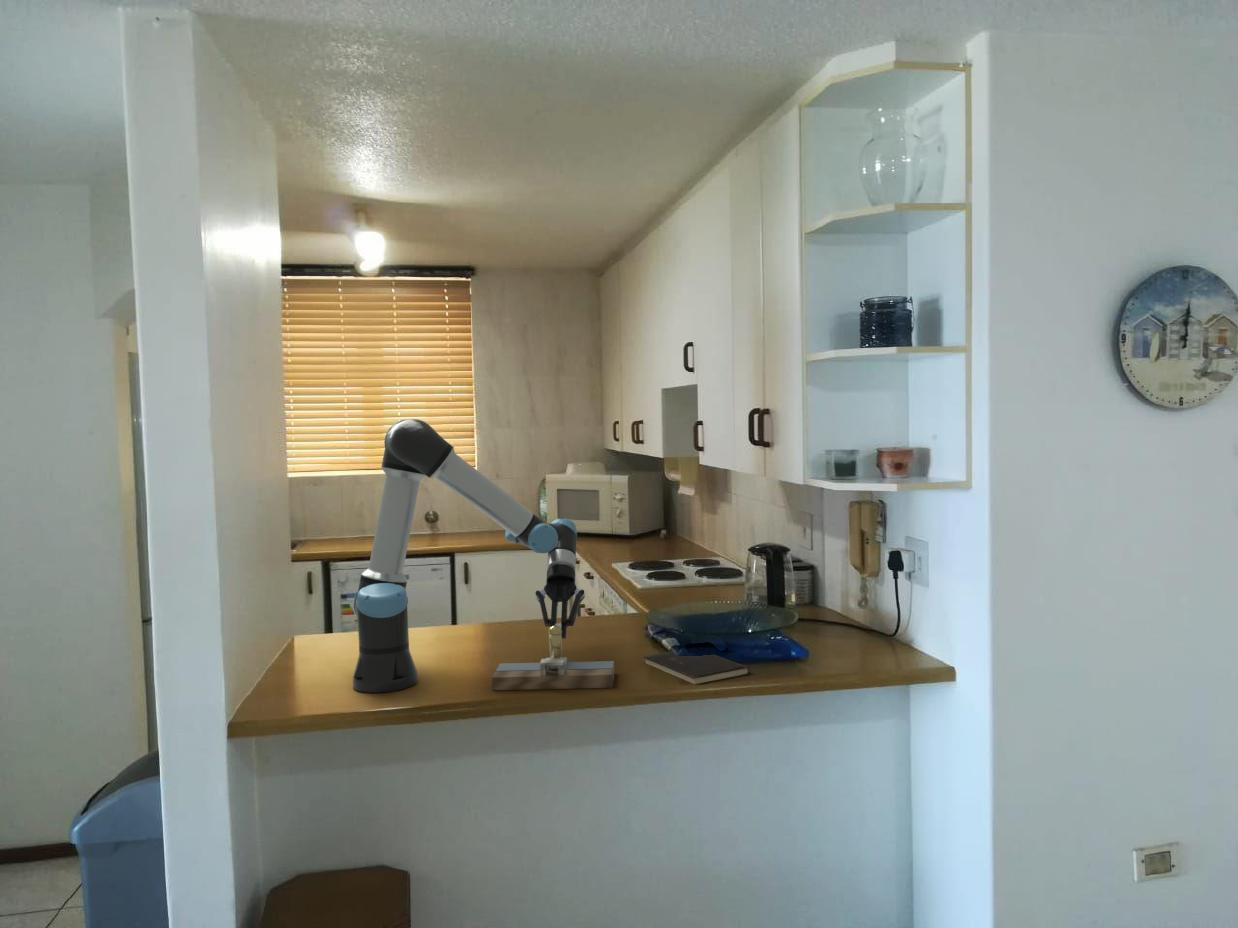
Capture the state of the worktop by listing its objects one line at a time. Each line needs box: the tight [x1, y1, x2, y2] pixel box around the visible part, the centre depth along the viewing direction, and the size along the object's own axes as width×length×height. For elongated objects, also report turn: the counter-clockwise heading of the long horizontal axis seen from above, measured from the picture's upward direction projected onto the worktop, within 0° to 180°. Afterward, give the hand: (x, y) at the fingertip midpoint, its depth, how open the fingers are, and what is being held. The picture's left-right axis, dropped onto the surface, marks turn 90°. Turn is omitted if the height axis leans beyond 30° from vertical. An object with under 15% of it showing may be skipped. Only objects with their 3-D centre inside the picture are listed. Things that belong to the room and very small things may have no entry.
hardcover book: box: [643, 650, 750, 685], centre depth 218 cm, size 16×23×2 cm
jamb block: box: [491, 657, 614, 691], centre depth 207 cm, size 28×5×6 cm, turn 88°
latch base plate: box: [495, 656, 615, 681], centre depth 213 cm, size 28×6×4 cm, turn 88°
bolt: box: [548, 625, 563, 669], centre depth 213 cm, size 3×7×9 cm, turn 178°
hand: (557, 648), depth 217 cm, fingers closed
